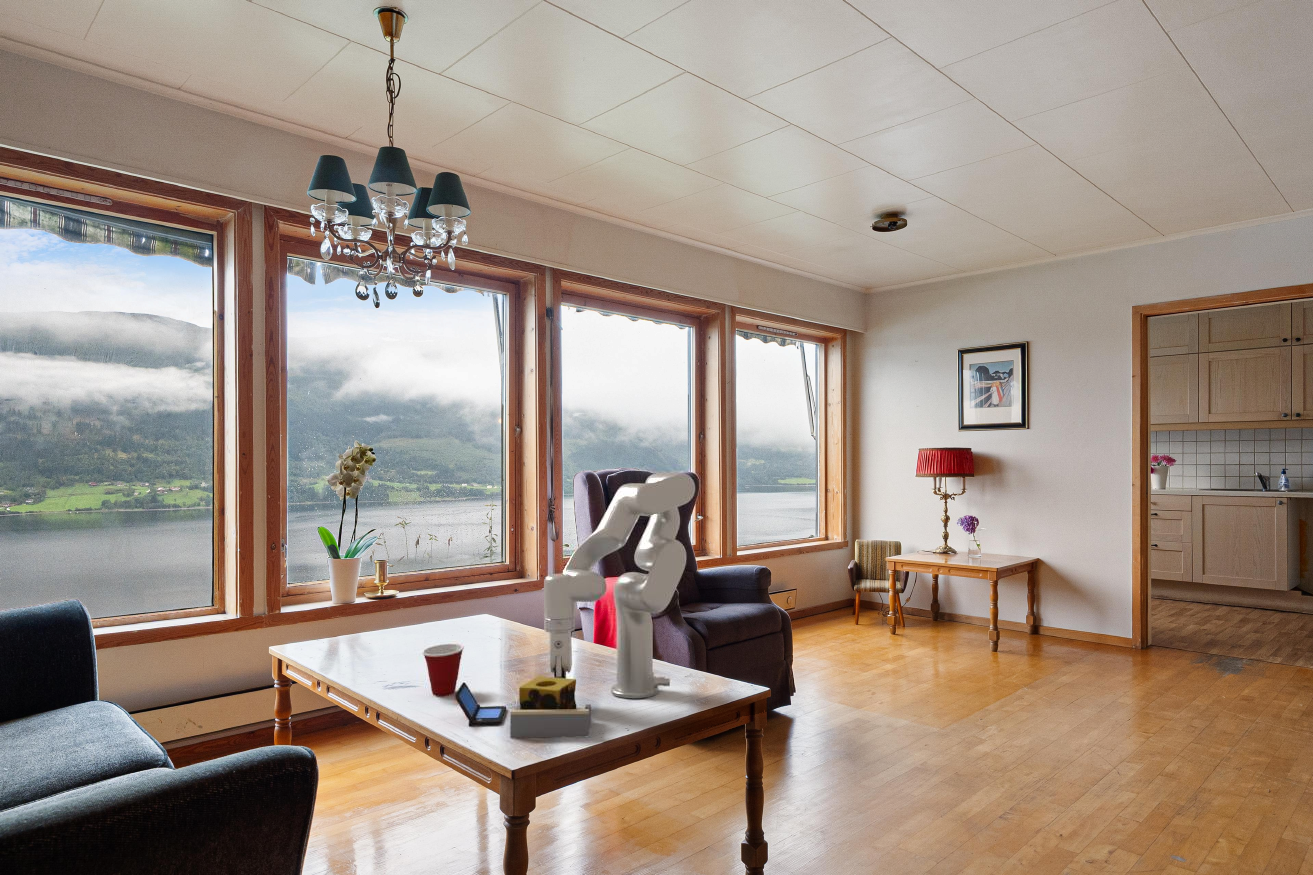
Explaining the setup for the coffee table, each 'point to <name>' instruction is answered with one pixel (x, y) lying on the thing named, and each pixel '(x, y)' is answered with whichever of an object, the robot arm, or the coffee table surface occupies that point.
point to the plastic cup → (443, 667)
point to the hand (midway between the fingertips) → (560, 698)
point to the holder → (550, 722)
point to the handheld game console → (478, 709)
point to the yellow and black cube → (548, 694)
